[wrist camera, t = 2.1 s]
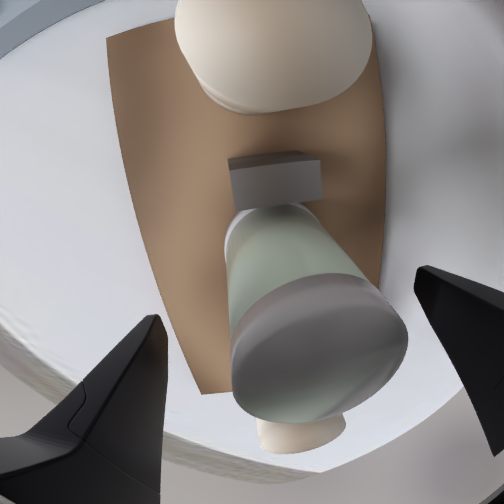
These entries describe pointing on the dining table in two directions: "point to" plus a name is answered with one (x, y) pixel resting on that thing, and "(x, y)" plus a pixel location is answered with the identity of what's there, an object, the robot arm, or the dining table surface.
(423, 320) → the dining table surface
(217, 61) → the fuse rack
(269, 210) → the cylinder
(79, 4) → the tray
